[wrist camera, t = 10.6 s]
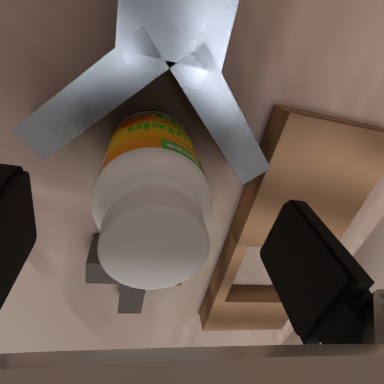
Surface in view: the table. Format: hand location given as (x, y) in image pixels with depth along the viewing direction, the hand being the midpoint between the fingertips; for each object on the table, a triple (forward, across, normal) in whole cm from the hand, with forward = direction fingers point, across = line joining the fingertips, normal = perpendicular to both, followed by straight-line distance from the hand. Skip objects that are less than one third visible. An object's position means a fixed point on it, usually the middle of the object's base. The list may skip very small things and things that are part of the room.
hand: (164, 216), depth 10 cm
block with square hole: (+8, -12, +8) cm, 16 cm away
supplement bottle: (+9, 0, +1) cm, 9 cm away
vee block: (+9, 0, -3) cm, 9 cm away
